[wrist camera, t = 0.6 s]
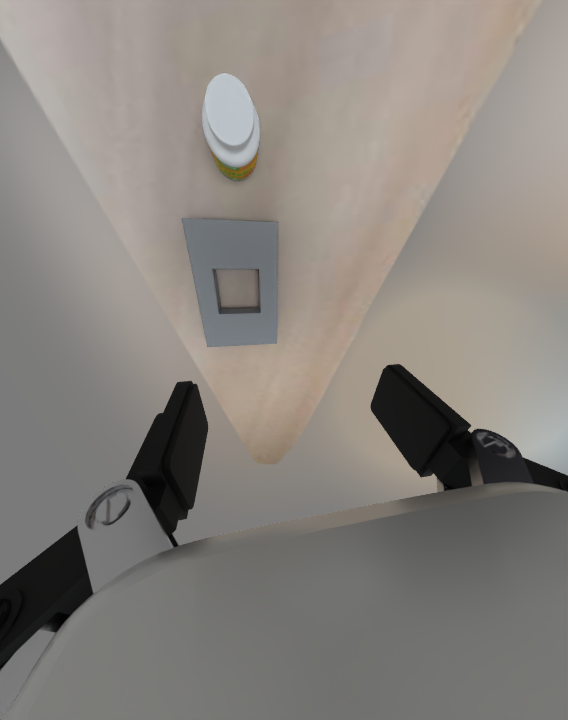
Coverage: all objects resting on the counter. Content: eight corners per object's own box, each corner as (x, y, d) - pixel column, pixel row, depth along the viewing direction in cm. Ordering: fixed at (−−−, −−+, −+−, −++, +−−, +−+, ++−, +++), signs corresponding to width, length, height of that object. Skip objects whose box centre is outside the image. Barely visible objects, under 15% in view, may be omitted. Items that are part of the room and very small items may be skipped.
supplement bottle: (218, 182, 26) (205, 158, 18) (206, 120, 23) (184, 57, 15) (259, 180, 26) (266, 155, 18) (253, 119, 23) (257, 57, 15)
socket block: (187, 219, 27) (181, 218, 25) (275, 223, 29) (278, 222, 26) (209, 339, 37) (207, 347, 34) (274, 336, 38) (277, 343, 36)
